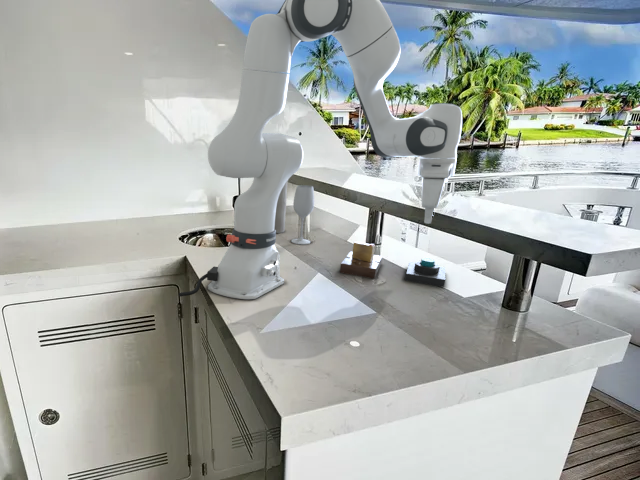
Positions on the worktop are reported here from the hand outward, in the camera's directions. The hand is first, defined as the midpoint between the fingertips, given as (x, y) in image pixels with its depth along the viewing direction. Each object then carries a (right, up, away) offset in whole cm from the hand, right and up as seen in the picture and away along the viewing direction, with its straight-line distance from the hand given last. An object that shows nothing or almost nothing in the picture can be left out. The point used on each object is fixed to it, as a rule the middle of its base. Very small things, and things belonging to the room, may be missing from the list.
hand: (428, 220), depth 106 cm
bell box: (+2, -16, +6) cm, 17 cm away
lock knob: (-15, -11, +11) cm, 21 cm away
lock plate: (-15, -14, +12) cm, 23 cm away
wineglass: (-29, -4, +40) cm, 49 cm away
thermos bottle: (-38, +2, +55) cm, 67 cm away
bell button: (+2, -13, +5) cm, 14 cm away
